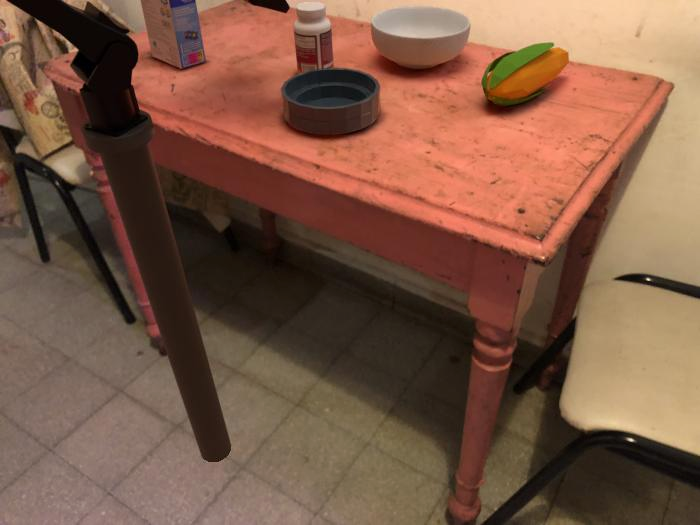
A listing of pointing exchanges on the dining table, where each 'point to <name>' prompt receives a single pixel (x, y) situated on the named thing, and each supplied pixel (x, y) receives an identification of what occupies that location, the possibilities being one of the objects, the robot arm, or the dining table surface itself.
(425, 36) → the cereal bowl
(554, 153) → the dining table surface
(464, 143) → the dining table surface
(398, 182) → the dining table surface
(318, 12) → the pill bottle
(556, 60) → the corn
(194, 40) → the ink cartridge box
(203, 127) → the dining table surface
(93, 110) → the robot arm
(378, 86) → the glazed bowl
